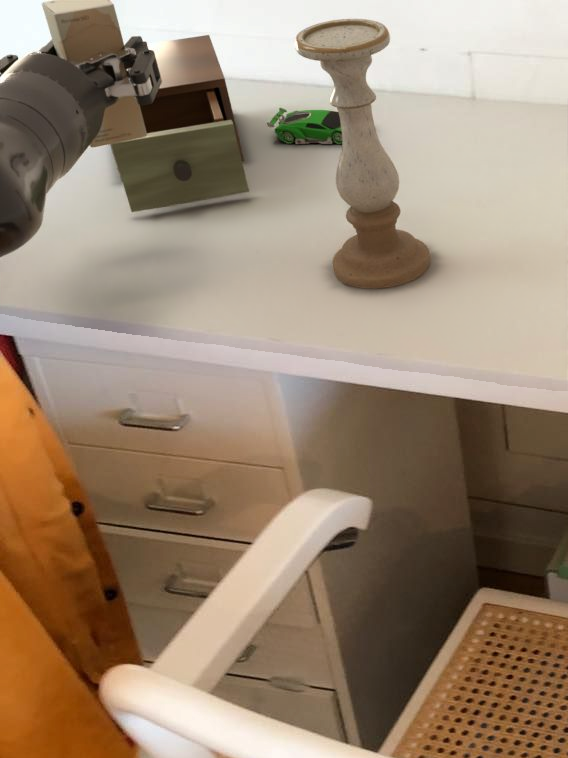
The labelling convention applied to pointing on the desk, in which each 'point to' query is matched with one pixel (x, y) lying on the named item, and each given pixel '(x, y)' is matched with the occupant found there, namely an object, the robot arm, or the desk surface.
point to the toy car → (308, 126)
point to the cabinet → (192, 72)
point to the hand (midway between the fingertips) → (100, 49)
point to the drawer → (181, 153)
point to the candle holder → (363, 159)
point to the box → (86, 38)
